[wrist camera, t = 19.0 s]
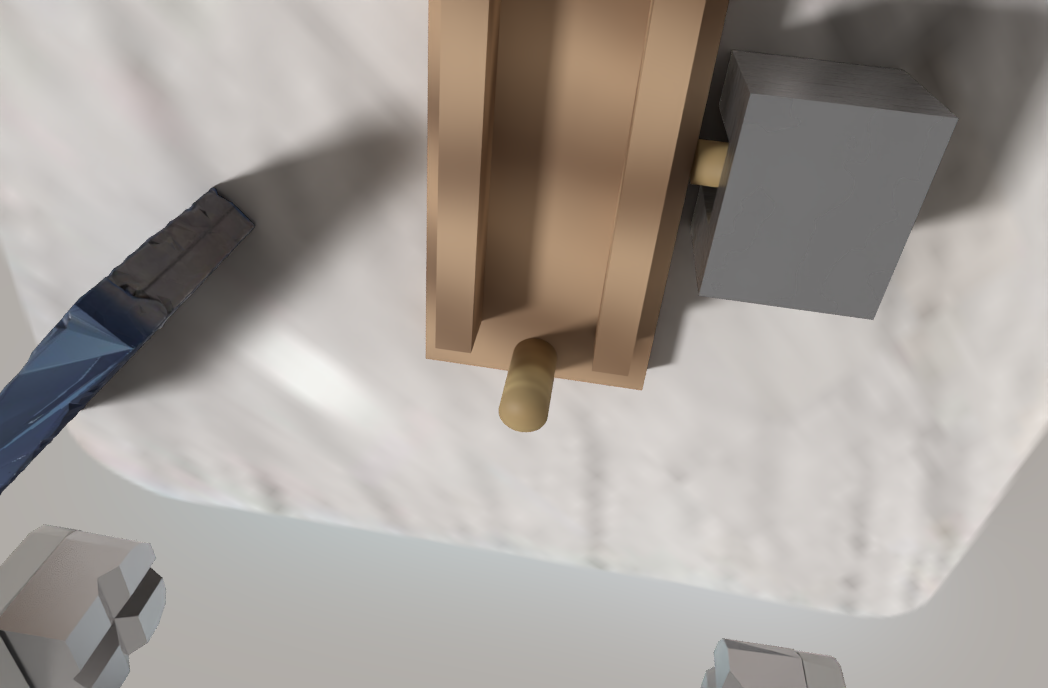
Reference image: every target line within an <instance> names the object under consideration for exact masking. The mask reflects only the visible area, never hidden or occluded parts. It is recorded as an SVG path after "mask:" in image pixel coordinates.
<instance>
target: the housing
mask: <svg viewBox="0 0 1048 688" xmlns="http://www.w3.org/2000/svg"><path fill="white" fill-rule="evenodd" d="M719 108H720V112H721V115H722V119H723V122H724V126H725V129H726V133H727V136H728V140H729V145H728V149H727V153H726V157H725V161H724V165H723V169H722V173H721V177H720V181H719V185H718V187H710V186H703V185H700V189H699V193H698V197H697V202H696V206H695V210H694V215H693V219H692V223H691V227H690V229H691V237H692V245H693V253H694V261H695V269H696V278H697V286H698V294H699V296H705V297H712V298H719V299H726V300H734V301H741V302H748V303H755V304H763V305H770V306H777V307H784V308H791V309H799V310H806V311H813V312H820V313H827V314H835V315H842V316H849V317H856V318H864V319H871V320H873V319H874V317H875V315H876V312H877V310H878V308H879V305H880V303H881V300H882V298H883V296H884V293H885V291H886V289H887V286H888V284H889V282H890V279H891V277H892V274H893V272H894V270H895V267H896V265H897V263H898V260H899V258H900V256H901V253H902V251H903V249H904V246H905V244H906V241H907V239H908V237H909V234H910V232H911V230H912V227H913V225H914V223H915V220H916V218H917V215H918V213H919V211H920V208H921V206H922V204H923V201H924V199H925V197H926V194H927V192H928V190H929V187H930V185H931V182H932V180H933V178H934V175H935V173H936V171H937V168H938V166H939V164H940V161H941V159H942V156H943V154H944V152H945V149H946V147H947V145H948V142H949V140H950V138H951V135H952V133H953V131H954V128H955V126H956V123H957V121H958V119H959V118H958V117H956V116H955V115H954V114H953V113H952V112H951V111H950V110H949V109H947V108H946V107H945V106H944V105H943V104H942V103H941V102H939V101H938V100H937V99H936V98H935V97H934V96H933V95H931V94H930V93H929V92H928V91H927V90H926V89H925V88H923V87H922V86H921V85H920V84H919V83H918V82H917V81H915V80H914V79H913V78H912V77H911V76H910V75H909V74H907V73H906V72H905V71H904V70H898V69H890V68H881V67H873V66H865V65H856V64H848V63H839V62H831V61H822V60H814V59H805V58H797V57H788V56H780V55H771V54H763V53H754V52H746V51H737V50H732V52H731V56H730V60H729V65H728V69H727V73H726V78H725V82H724V86H723V90H722V95H721V99H720V103H719Z"/></svg>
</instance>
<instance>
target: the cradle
mask: <svg viewBox="0 0 1048 688" xmlns="http://www.w3.org/2000/svg"><path fill="white" fill-rule="evenodd" d="M728 4H729V0H429V13H428V139H427V266H426V359H432V360H439V361H446V362H453V363H460V364H466V365H473V366H480V367H487V368H494V369H500V370H507V371H508V374H507V378H506V382H505V386H504V390H503V394H502V398H501V402H500V406H499V416H500V418H501V420H502V421H503V423H504V424H505V425H507V426H508V427H509V428H511V429H513V430H516V431H520V432H532V431H535V430H538V429H540V428H541V427H542V426H543V425H544V424H545V423H546V421H547V417H548V411H549V405H550V399H551V393H552V387H553V381H554V377H555V378H562V379H568V380H575V381H582V382H589V383H595V384H602V385H609V386H616V387H623V388H629V389H636V390H642V388H643V384H644V380H645V375H646V371H647V366H648V362H649V357H650V353H651V348H652V344H653V339H654V335H655V330H656V326H657V321H658V317H659V312H660V308H661V303H662V299H663V294H664V290H665V286H666V281H667V277H668V272H669V268H670V263H671V259H672V254H673V250H674V245H675V241H676V236H677V232H678V227H679V223H680V218H681V214H682V209H683V205H684V200H685V196H686V192H687V187H688V183H689V178H690V183H691V184H695V185H703V186H710V187H718V185H719V181H720V177H721V173H722V169H723V165H724V161H725V157H726V153H727V149H728V145H729V142H721V141H713V140H705V139H698V138H699V133H700V129H701V124H702V120H703V115H704V111H705V106H706V102H707V98H708V93H709V89H710V84H711V80H712V75H713V71H714V66H715V62H716V57H717V53H718V48H719V44H720V39H721V35H722V30H723V26H724V21H725V17H726V12H727V8H728ZM690 174H691V175H690Z"/></svg>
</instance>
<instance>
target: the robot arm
mask: <svg viewBox="0 0 1048 688" xmlns="http://www.w3.org/2000/svg"><path fill="white" fill-rule="evenodd" d="M155 559H156V557H155V554H154V552H153V549H152V547H151V544H150V543H146V542H140V541H134V540H129V539H123V538H117V537H112V536H106V535H100V534H95V533H89V532H83V531H81V530H75V529H69V528H63V527H57V526H51V525H42V526H41V527H39V528H37V529H35V530H34V531H32V532H31V533H29V534H28V535H27V537H26V538H25V539H24V540H23V541H22V542H21V543H20V545H19V546H18V547H17V548H16V549H15V550H14V551H13V552H12V554H11V555H10V556H9V557H8V558H7V559H6V561H5V562H4V563H3V564H2V565H1V566H0V688H120V687H121V686H122V684H123V682H124V681H125V679H126V677H127V676H128V674H129V672H130V665H129V655H130V654H131V653H132V652H134V651H136V650H137V649H138V648H140V647H142V646H143V645H145V644H146V643H148V641H149V640H150V637H151V636H152V635H153V633H154V631H155V629H156V628H157V626H158V624H159V622H160V618H161V615H162V612H163V609H164V606H165V602H166V601H165V599H166V588H165V584H164V581H163V578H162V577H161V576H160V575H159V574H157V573H156V572H155V571H154V570H153V569H152V568H151V565H152V564H153V562H154V561H155ZM714 662H715V667H713V668H711V669H709V670H707V671H706V673H705V676H704V679H703V682H702V685H701V688H846V686H845V682H844V677H843V673H842V669H841V666H840V664H839V663H838V661H837V660H836V658H834V657H832V656H828V655H822V654H816V653H809V652H802V651H796V650H794V649H790V648H783V647H777V646H770V645H764V644H757V643H750V642H743V641H737V640H730V639H721V640H720V641H719V642H718V644H717V646H716V648H715V651H714Z"/></svg>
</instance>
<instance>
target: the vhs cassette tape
mask: <svg viewBox="0 0 1048 688" xmlns="http://www.w3.org/2000/svg"><path fill="white" fill-rule="evenodd" d="M254 227H255V225H254V224H253V223H252V222H251V221H250V220H249V219H248V218H247V217H246V216H245V215H244V214H243V213H242V212H241V211H240V210H239V209H238V208H237V207H236V206H235V205H234V204H233V203H231V202H229V201H227V200H225V199H223V198H222V197H221V196H218V193H217V190H216V189H215V188H211V189H210V190H209V191H208V192H207V193H205V194H204V195H203V196H202V197H200V198H199V199H198V200H197V201H196V202H194V203H193V204H192V206H191V207H190V208H189V209H186V210H185V211H184V212H183V213H182V214H181V215H179V216H178V217H177V218H175V219H174V220H172V221H170V222H169V223H168V224H167V226H166V227H165V228H163V229H162V230H161V231H159V232H158V233H156V234H155V235H153V236H151V237H150V238H149V239H147V240H146V242H144V243H143V244H142V245H141V246H140V247H139V248H138V249H137V250H136V251H135V252H133V253H132V254H131V255H129V256H128V257H127V258H126V259H125V260H124V262H123V263H122V264H120V265H119V266H117V267H116V268H114V269H113V270H112V272H111V273H110V274H109V276H107V277H105V278H104V279H103V280H102V281H101V282H99V283H98V284H97V285H96V286H95V287H93V288H92V289H91V290H89V291H88V292H87V293H86V294H84V295H83V296H82V297H80V298H79V299H78V301H77V302H76V303H75V304H74V305H73V306H72V307H71V308H70V310H69V311H68V312H67V313H66V314H65V315H64V316H63V318H62V319H61V320H60V321H59V323H58V324H57V325H56V326H55V327H54V328H53V329H52V330H51V331H50V332H49V333H48V335H47V336H46V337H45V338H44V339H43V340H42V341H41V343H40V344H39V345H38V346H37V347H36V348H35V350H34V351H33V352H32V353H31V356H30V358H29V360H28V362H27V363H26V365H25V366H24V367H23V368H22V370H21V371H20V372H19V373H18V374H17V375H16V376H15V377H14V378H13V379H12V380H11V381H10V382H9V384H7V385H6V386H5V387H4V389H3V390H2V391H1V393H0V495H1V493H2V491H3V490H4V489H5V488H6V487H7V486H8V485H9V484H10V483H12V482H13V481H14V480H15V478H16V477H17V476H18V475H19V474H20V473H21V472H22V471H23V470H24V469H25V468H26V467H27V466H28V465H29V464H30V462H31V461H32V460H33V459H34V458H35V457H36V456H37V455H38V454H39V453H40V452H41V451H42V450H43V449H44V448H45V447H46V445H48V444H49V443H51V441H52V440H53V438H54V437H56V436H57V435H58V434H59V432H60V431H61V430H62V429H63V428H64V427H65V426H66V424H67V423H68V422H70V421H71V420H72V419H73V418H74V417H75V416H76V415H77V414H78V412H79V411H80V410H81V409H83V408H84V407H85V405H86V404H87V403H88V402H89V401H90V399H91V398H92V397H94V396H95V394H96V393H97V392H98V391H99V390H100V389H101V388H102V387H103V386H104V385H105V384H106V383H107V382H108V381H109V380H110V379H111V378H112V377H113V376H114V375H115V374H116V372H117V371H118V370H119V369H121V368H122V366H123V365H124V364H125V363H126V362H127V361H128V360H129V359H130V358H131V357H132V356H133V355H134V354H135V353H136V352H137V351H138V350H139V349H140V348H141V347H142V345H143V344H144V343H145V342H146V341H147V340H149V339H150V338H151V336H152V335H153V334H154V333H155V332H156V331H157V330H158V329H161V328H162V326H163V325H164V323H165V322H166V320H167V319H168V318H169V317H170V316H171V315H172V314H173V313H174V312H175V311H176V310H177V309H178V308H179V307H180V306H181V305H182V304H183V303H184V302H185V300H186V299H187V298H189V297H190V296H191V295H192V294H193V293H194V291H195V290H196V289H197V288H198V287H199V286H200V285H201V284H202V283H203V281H204V280H205V279H206V278H207V277H208V276H209V275H210V274H211V273H212V272H213V271H214V270H215V269H216V268H217V267H218V266H219V264H220V263H221V262H222V261H223V260H224V259H225V258H226V257H228V256H229V254H230V253H231V252H232V251H233V249H234V248H235V247H236V246H237V245H238V244H239V243H240V242H241V241H242V240H243V239H244V238H245V237H246V236H247V235H248V234H249V233H250V232H251V231H252V230H253V229H254Z"/></svg>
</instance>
